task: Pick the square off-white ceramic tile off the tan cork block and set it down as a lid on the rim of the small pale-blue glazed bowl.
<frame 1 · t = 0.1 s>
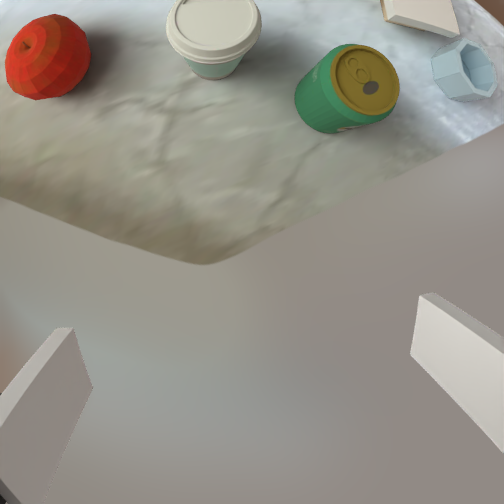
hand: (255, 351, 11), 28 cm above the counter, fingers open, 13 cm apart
cork block: (400, 7, 33), on the counter
apple: (66, 69, 31), on the counter
bowl: (452, 74, 36), on the counter
beverage can: (324, 103, 36), on the counter
coffee cup: (213, 58, 33), on the counter
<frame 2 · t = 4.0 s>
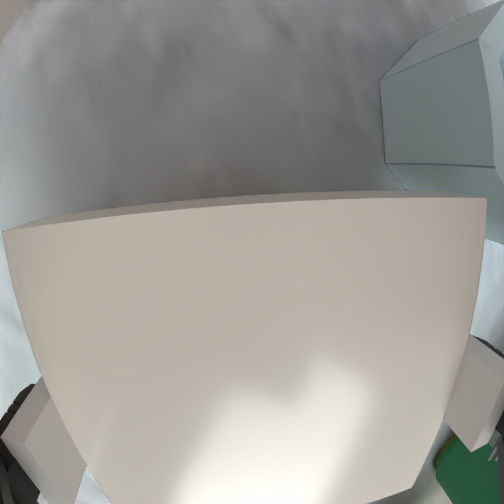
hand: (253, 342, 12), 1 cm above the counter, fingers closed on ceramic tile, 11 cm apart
ceramic tile: (263, 386, 9), point 4 cm above the counter, touching cork block, gripper
bowl: (457, 131, 12), on the counter
beverage can: (469, 439, 18), on the counter
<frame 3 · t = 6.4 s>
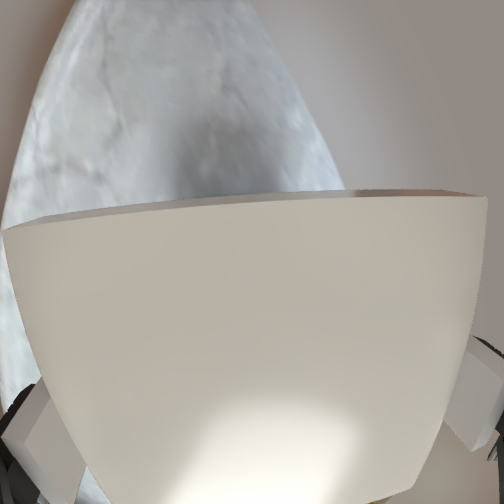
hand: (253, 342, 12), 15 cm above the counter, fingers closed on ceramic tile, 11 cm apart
ceramic tile: (263, 386, 9), point 17 cm above the counter, touching gripper
when the fingers open (5 cm above the counter, at t = 8.7 s): ceramic tile drops 1 cm, resting on bowl.
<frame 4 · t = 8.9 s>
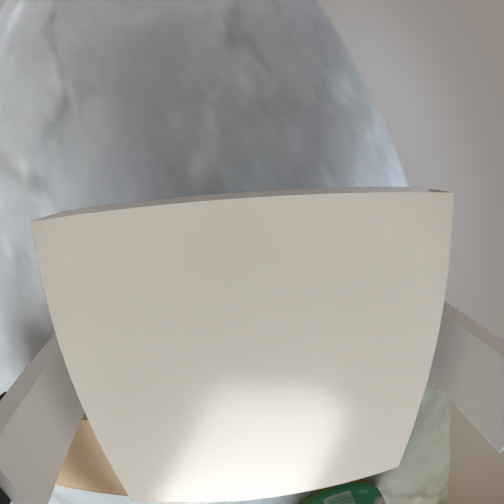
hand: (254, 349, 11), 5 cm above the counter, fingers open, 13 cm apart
cork block: (98, 417, 17), on the counter
ceramic tile: (256, 362, 10), point 6 cm above the counter, touching bowl
beverage can: (335, 499, 22), on the counter
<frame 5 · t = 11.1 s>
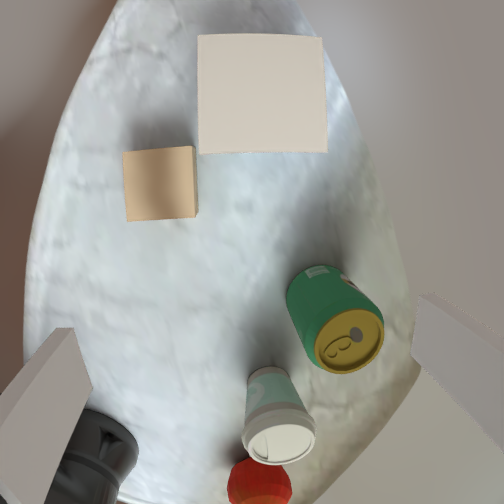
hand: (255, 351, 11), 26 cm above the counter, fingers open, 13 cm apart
cork block: (165, 181, 34), on the counter
ceramic tile: (260, 94, 27), point 6 cm above the counter, touching bowl
apple: (256, 462, 47), on the counter
beverage can: (316, 293, 39), on the counter
coffee cup: (268, 382, 42), on the counter
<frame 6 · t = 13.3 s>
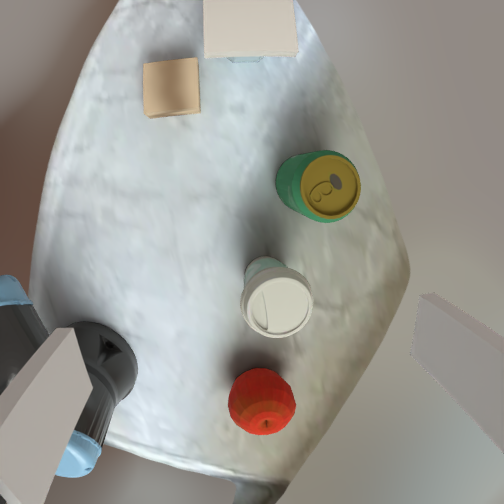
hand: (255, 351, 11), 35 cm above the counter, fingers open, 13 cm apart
cork block: (174, 91, 39), on the counter
ceramic tile: (247, 19, 33), point 6 cm above the counter, touching bowl
apple: (257, 381, 52), on the counter
beverage can: (302, 182, 45), on the counter
coffee cup: (264, 275, 47), on the counter
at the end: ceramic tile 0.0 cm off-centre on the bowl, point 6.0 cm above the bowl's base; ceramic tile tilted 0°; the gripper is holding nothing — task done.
